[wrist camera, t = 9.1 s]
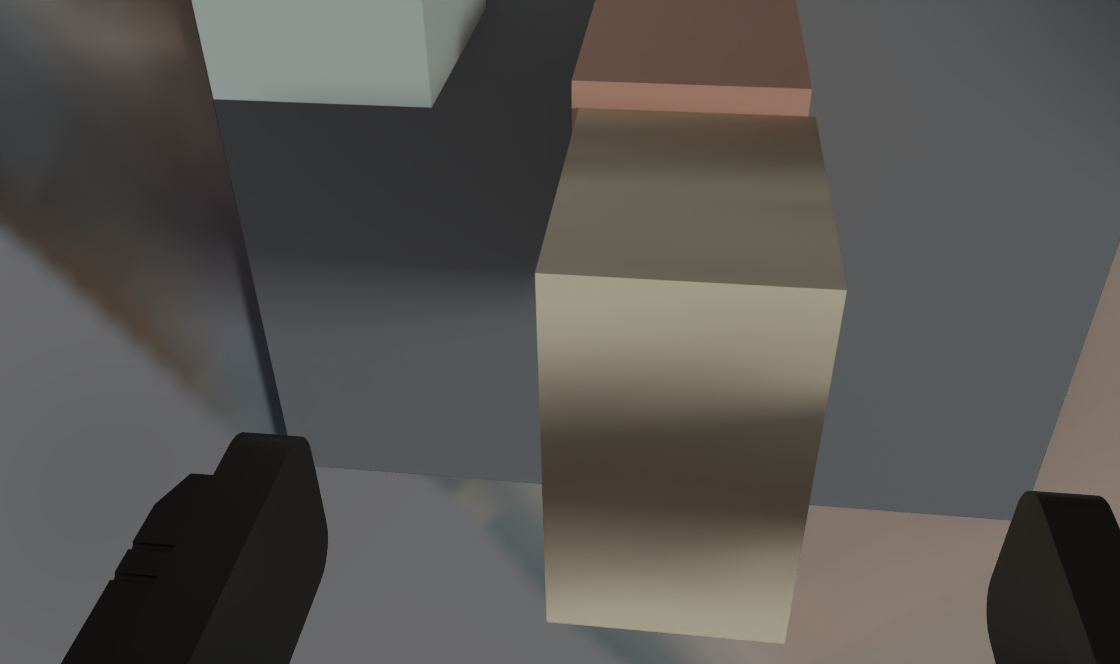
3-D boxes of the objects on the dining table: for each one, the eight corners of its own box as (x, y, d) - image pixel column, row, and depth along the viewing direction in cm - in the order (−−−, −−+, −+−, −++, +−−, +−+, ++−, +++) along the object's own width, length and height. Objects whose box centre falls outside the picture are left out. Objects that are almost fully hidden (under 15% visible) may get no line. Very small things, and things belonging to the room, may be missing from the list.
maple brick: (579, 107, 15) (534, 273, 12) (815, 116, 15) (846, 291, 11) (580, 420, 19) (546, 622, 15) (771, 433, 18) (784, 643, 15)
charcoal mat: (87, -549, 15) (67, -553, 15) (1387, -591, 14) (1412, -598, 13) (301, 449, 27) (294, 464, 27) (1015, 503, 25) (1021, 521, 25)
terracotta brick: (600, -17, 19) (571, 80, 15) (793, -13, 18) (811, 89, 15) (598, 267, 22) (573, 401, 18) (759, 276, 22) (767, 415, 18)
